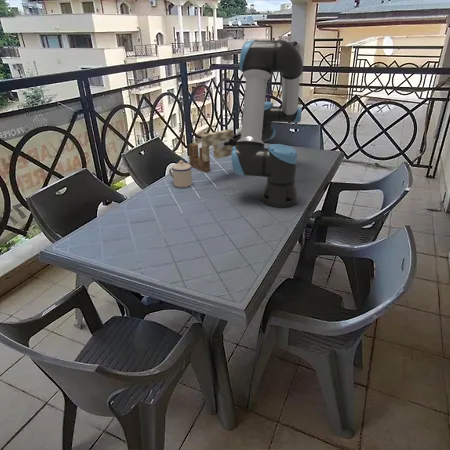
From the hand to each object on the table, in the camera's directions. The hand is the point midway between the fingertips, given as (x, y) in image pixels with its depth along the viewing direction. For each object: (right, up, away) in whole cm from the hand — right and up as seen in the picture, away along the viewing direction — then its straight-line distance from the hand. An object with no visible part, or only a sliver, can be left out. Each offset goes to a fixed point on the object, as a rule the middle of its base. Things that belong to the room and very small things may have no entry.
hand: (215, 144), depth 164 cm
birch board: (+1, -5, +4) cm, 7 cm away
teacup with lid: (-17, -18, +4) cm, 25 cm away
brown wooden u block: (-9, -8, +22) cm, 25 cm away
